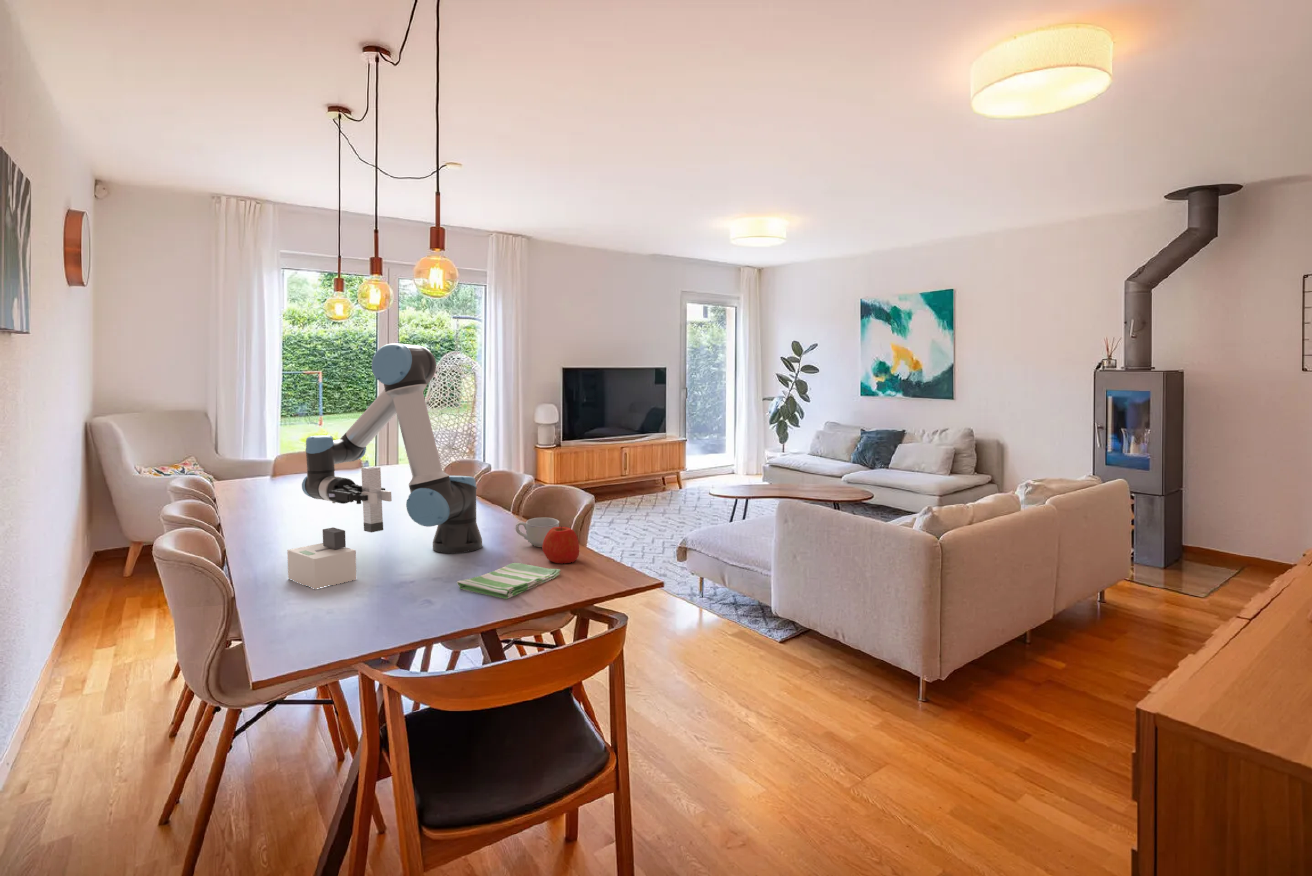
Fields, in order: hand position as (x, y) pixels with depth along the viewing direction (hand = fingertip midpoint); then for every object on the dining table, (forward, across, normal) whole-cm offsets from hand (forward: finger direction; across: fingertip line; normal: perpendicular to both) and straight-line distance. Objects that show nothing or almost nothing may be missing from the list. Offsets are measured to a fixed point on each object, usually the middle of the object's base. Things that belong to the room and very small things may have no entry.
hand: (383, 497), depth 187 cm
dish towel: (+35, -15, -22) cm, 44 cm away
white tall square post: (-5, 0, -10) cm, 11 cm away
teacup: (+12, -47, -22) cm, 53 cm away
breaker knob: (-5, +12, -12) cm, 18 cm away
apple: (+31, -38, -22) cm, 53 cm away
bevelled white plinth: (-5, +15, -20) cm, 26 cm away
